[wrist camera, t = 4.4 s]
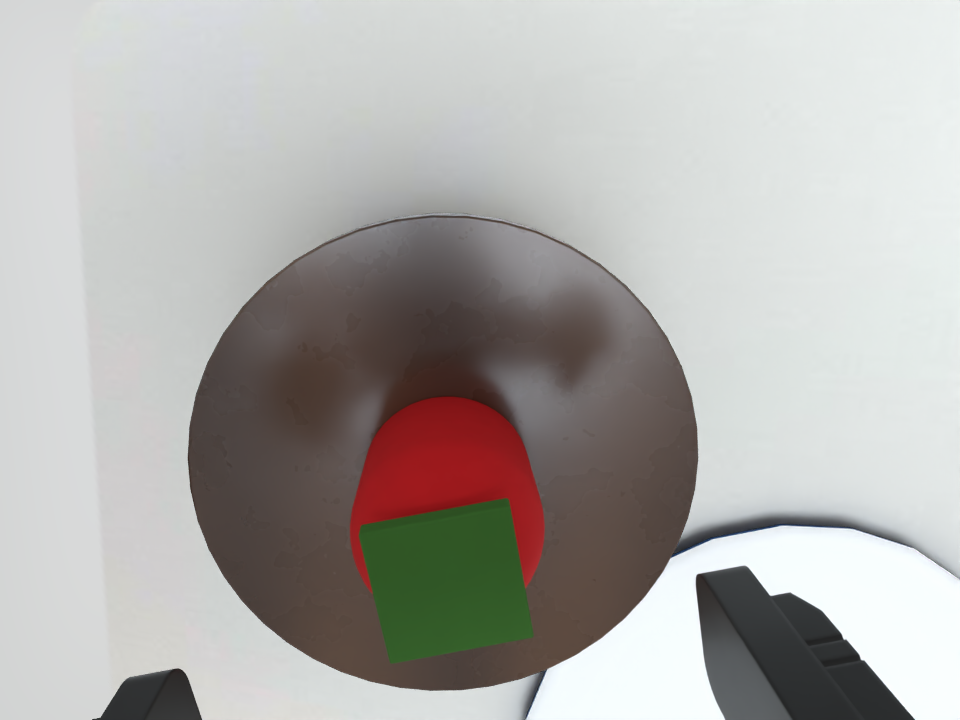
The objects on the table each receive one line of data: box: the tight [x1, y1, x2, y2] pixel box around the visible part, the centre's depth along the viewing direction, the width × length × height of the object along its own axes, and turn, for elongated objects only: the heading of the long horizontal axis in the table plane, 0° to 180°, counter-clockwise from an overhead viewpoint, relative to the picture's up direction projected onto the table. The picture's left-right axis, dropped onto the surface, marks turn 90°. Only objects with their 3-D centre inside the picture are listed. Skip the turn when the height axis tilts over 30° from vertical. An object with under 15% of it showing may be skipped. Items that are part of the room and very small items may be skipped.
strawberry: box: [350, 397, 545, 664], centre depth 16 cm, size 4×4×5 cm
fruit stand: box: [188, 213, 698, 691], centre depth 25 cm, size 13×13×13 cm
